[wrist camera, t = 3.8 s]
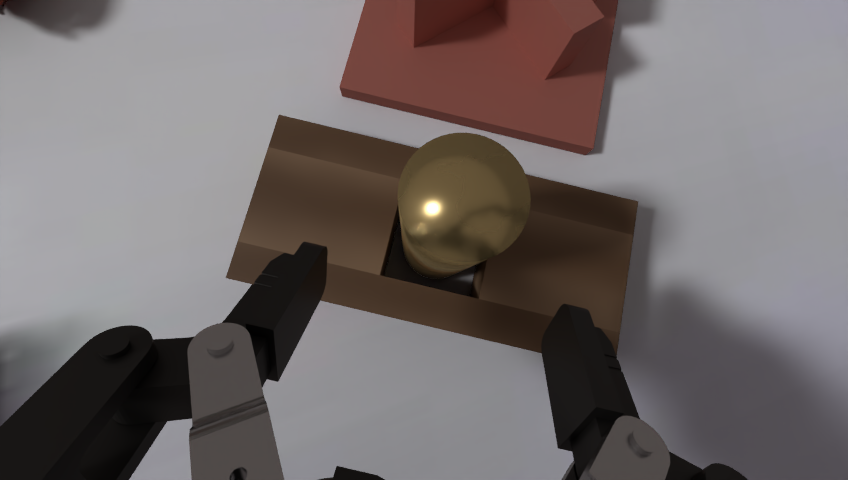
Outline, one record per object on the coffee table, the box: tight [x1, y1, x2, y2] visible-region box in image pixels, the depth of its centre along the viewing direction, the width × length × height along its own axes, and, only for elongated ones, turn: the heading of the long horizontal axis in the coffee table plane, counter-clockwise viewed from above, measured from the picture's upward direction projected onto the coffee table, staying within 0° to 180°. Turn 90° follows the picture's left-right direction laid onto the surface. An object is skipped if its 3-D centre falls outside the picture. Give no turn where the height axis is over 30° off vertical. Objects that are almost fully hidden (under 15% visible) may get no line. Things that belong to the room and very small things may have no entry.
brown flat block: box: [226, 115, 638, 355], centre depth 20 cm, size 9×20×3 cm, turn 77°
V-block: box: [340, 0, 618, 155], centre depth 21 cm, size 12×16×5 cm
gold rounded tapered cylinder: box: [398, 133, 531, 279], centre depth 16 cm, size 4×4×11 cm
